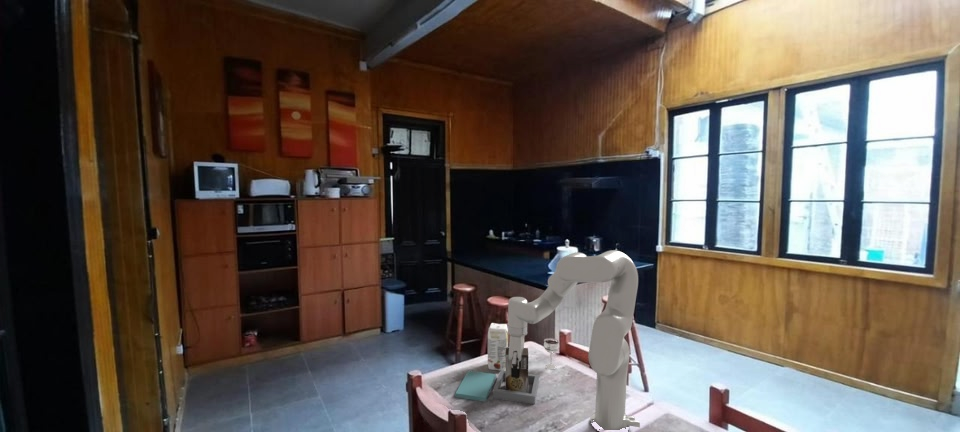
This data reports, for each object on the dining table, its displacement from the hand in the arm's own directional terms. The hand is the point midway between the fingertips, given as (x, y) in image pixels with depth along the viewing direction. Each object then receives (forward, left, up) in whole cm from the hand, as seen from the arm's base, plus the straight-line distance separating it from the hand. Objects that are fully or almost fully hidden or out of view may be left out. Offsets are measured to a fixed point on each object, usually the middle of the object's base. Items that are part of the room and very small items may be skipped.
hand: (516, 372), depth 152 cm
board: (+16, +2, -7) cm, 18 cm away
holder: (0, 0, -7) cm, 7 cm away
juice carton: (+11, -16, -8) cm, 21 cm away
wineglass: (-12, -22, -8) cm, 26 cm away
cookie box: (0, 0, -8) cm, 8 cm away
